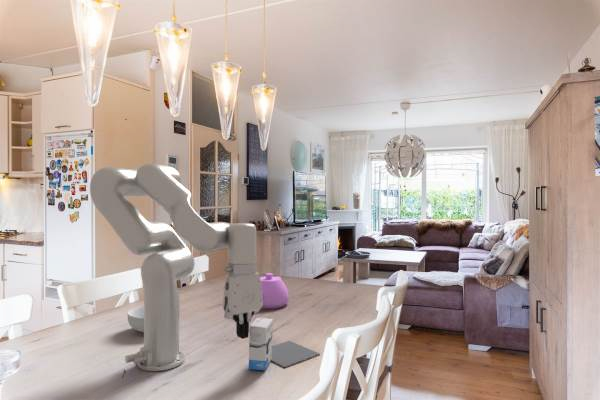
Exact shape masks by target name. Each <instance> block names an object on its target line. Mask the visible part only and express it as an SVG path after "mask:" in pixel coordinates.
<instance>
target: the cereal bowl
mask: <svg viewBox="0 0 600 400" xmlns="http://www.w3.org/2000/svg"><path fill="white" fill-rule="evenodd" d="M127 322H128V324H129V326H130V328H132V329H133V330H135V331H138V332H142V333H143V334H144V305H140V306H136V307H134V308H131V309H130V310H128V312H127Z"/></svg>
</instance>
